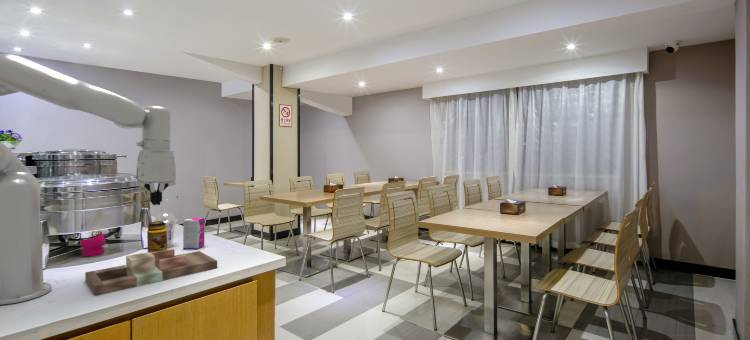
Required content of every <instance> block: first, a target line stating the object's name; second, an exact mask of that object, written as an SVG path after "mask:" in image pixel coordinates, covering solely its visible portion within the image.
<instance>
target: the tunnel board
mask: <svg viewBox="0 0 750 340" xmlns="http://www.w3.org/2000/svg"><path fill="white" fill-rule="evenodd" d="M175 251H176V250H175V248H169V249H168V248H167V250H162V251H156V252H151V254H152V255H154V256H155V269H154V270H149V271H144V272H140V273H135V274H131V273H130V272H129V271H128V270H127V268H126V264H123V265H118V266H113V267H112V266H111V267H106V268H103V269H102V268H101V269H96V270H90V271H87V272H86V271H85V272H84V275H85V277H84V279H85V280H84V281H85V282H86V284H87V286H88V287H89V289H90V290H91V292H92V293H93V295H94V296H99V295H104V294H108V293H112V292H118V291H121V290H126V289H130V288H135V287H139V286H143V285H148V284H152V283H153V284H154V283H156V282H161V281H165V280H170V278H171V279H174V278H179V276H180V277H183V275H184V276H188V275H192V274H197V273H201V272H206V271H210V270H215V269H218V259H215V258H213V257H212V256H209V255H208V254H206V253H204V252H202V251H200V250H198V251H193V252H188V253H187V252H186V253H183V254H175Z"/></svg>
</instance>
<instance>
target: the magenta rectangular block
mask: <svg viewBox="0 0 750 340" xmlns="http://www.w3.org/2000/svg"><path fill="white" fill-rule="evenodd" d="M105 244H106V238H105V235H104V234H103V233H102V231H101V232H100V234H99V235H98V236H95V237H93V238H91V239H87V240H81V239H80V241H79V246H80V247H81V248H82V249H83V250H82V252H81V253H82V254H81V255H83V257H85V256H89V257H96V255H97V256H100V254H101V255H103V254H104V253H105V248H104V245H105Z"/></svg>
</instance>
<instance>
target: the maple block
mask: <svg viewBox="0 0 750 340" xmlns="http://www.w3.org/2000/svg"><path fill="white" fill-rule="evenodd" d="M146 252H147V253H146ZM146 252H141V253H137V254H136V253H135V254H129V255H126V256H125V258H126V259H125V260H126V264H125V265H126V268H127V270H128V271H129V272H130V273H131V274H135V273H140V272H144V271H149V270H154V269H155V256H154V255H152V254H151V253H150V252H148V251H146Z"/></svg>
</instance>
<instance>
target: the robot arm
mask: <svg viewBox="0 0 750 340" xmlns="http://www.w3.org/2000/svg"><path fill="white" fill-rule="evenodd" d="M17 93H23V94H26V95H28V96H31V97H33V98H37V99H39V100H43V101H45V102H48V103H50V104H53V105H56V106H58V107H61V108H65V109H67V110H75V111H79V112H83V113H87V114H90V115H94V116H97V117H100V118H103V119H105V120H108V121H110V122H112V123H114V125H116V126H117V127H119V128H122V129H125V130H126V129H129V130H130V129H142V131H141V134H142V135H141V137H142V138H141V140H140V141H136V146H137V147H140V148H141V150H139V152H138V157H137V162H136V163H137V165H136V182H135V186H137V187H139V188H141V187H142V188H145V189H146V190H147V191H148V192H149V202H150V203H151V205H153V206H160V205H161V203H162V202H163V192H164V190H166V189H167V188H168V187H172V186H175V185H176V179H177V169H176V160H175V154H174V151H172V150H171V110H170V109H169V108H168V107H166V106H159V105H146V106H141V105H140V104H139V103H138V102H136V101H133V100H131V99H129V98H127V97H124V96H121V95H119V94H117V93H115V92H112V91H109V90H107V89H104V88H102V87H98V86H96V85H92V84H90V83H88V82H86V81H83V80H79V79H77V78H75V77H72V76H69V75H67V74H64V73H63V72H59V71H57V70H55V69H52V68H50V67H48V66H45V65H43V64H40V63H38V62H36V61H33V60H31V59H29V58H25V57H24V56H20V55H17V54H14V53H0V97H2V96H8V95H11V94H17ZM155 183H157V189H156V188H155ZM41 194H42V187H41V184H40V181H39V180H38V179H37V177H35V175H33V173H32V172H31V171H30V170H29V168H27V166H25V164H24V163H23V161H21V160H20V159H19V158H18V157H17V155H16V154H15V153H14V152H13V151H12V150H11V149H10V147H9V146H7V145H6V144H5V143H3V142H1V141H0V305H2V306H3V305H10V304H11V305H12V304H16V303H21V302H22V303H23V302H26V301H30V300H34V299H36V298H38V297H41V296H44V295H47V294H48V293H49V292H50V291H51V290H52V284H51V283H49V282H44V266H43V265H44V264H43V242H42V241H43V239H42V238H43V237H42V221H41V220H42V219H41Z"/></svg>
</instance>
